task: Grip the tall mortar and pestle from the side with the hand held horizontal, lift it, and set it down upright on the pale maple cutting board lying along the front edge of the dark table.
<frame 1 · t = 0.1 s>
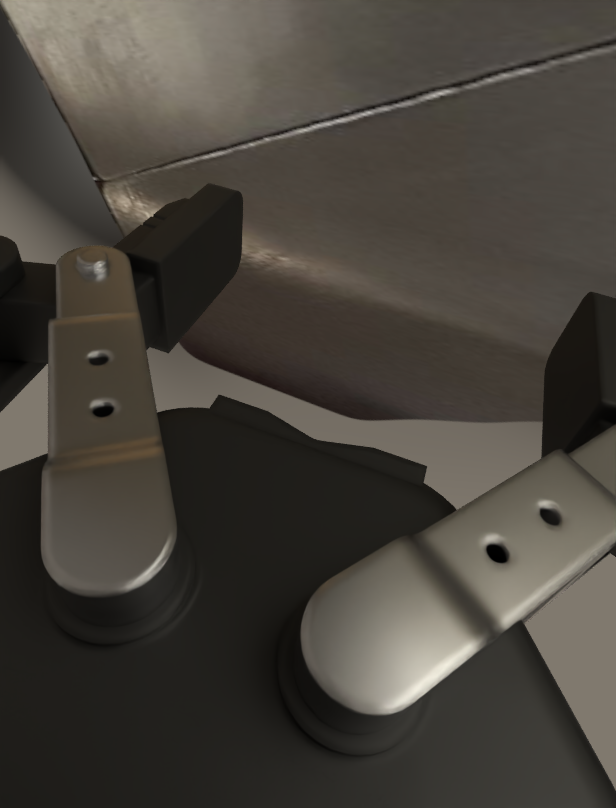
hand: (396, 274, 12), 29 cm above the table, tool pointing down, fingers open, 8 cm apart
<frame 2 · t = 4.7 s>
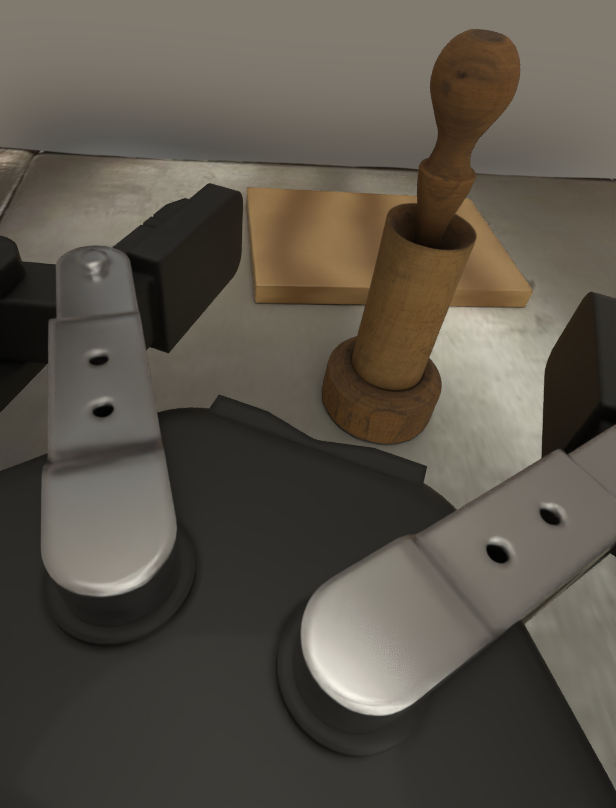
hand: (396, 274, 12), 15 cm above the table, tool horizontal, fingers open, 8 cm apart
cutting board: (375, 252, 42), on the table
mortar and pestle: (375, 402, 31), on the table
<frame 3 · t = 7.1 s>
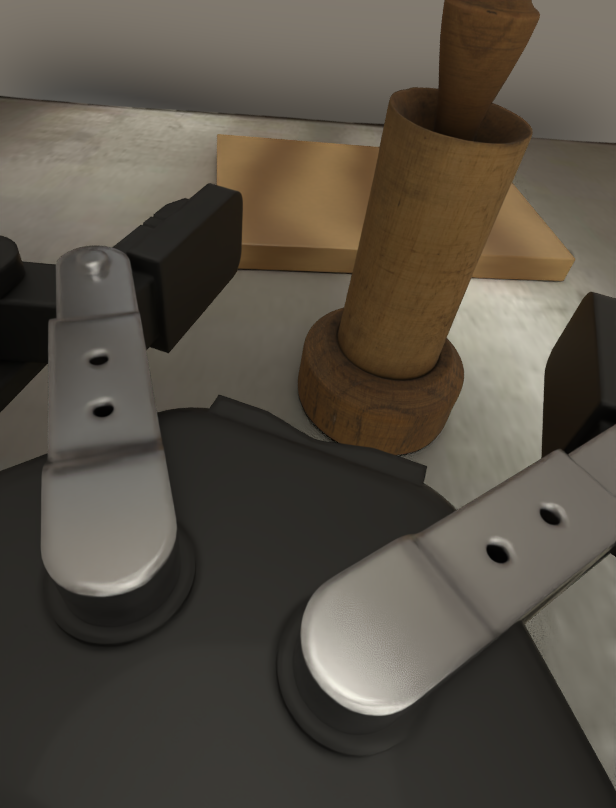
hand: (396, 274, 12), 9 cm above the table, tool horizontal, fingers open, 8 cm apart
cutting board: (374, 213, 34), on the table
mortar and pestle: (371, 397, 22), on the table
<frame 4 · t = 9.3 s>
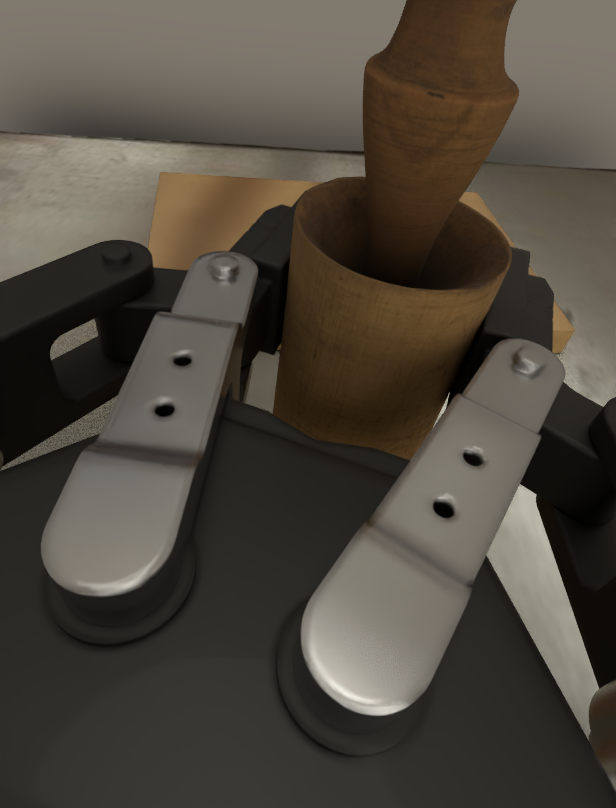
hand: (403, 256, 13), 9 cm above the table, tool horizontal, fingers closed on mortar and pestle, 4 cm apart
cutting board: (340, 266, 29), on the table
mortar and pestle: (317, 536, 18), on the table, touching gripper
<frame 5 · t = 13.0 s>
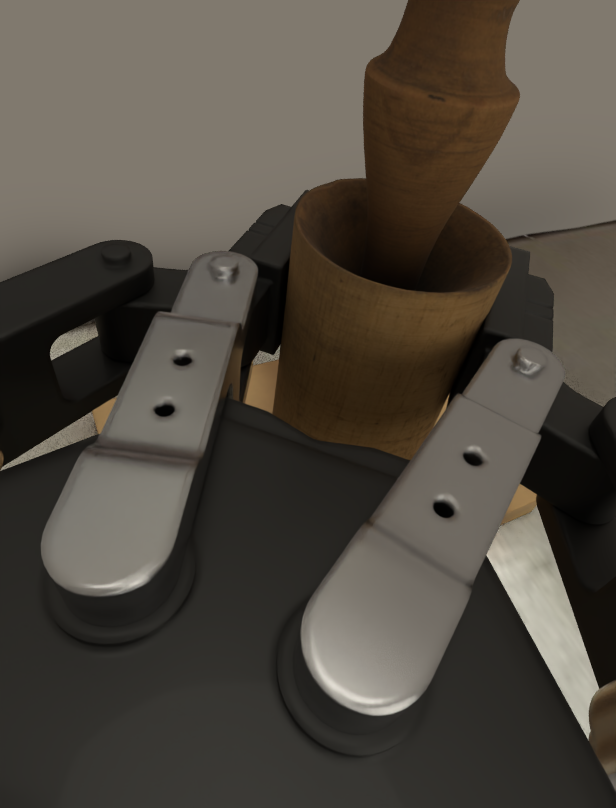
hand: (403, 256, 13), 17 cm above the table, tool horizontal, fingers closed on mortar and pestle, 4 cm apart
cutting board: (310, 466, 29), on the table
mortar and pestle: (316, 537, 18), point 7 cm above the table, touching gripper
when the fingers open (11 cm above the table, at t = 16.5 s): mortar and pestle stays where it is, resting on cutting board.
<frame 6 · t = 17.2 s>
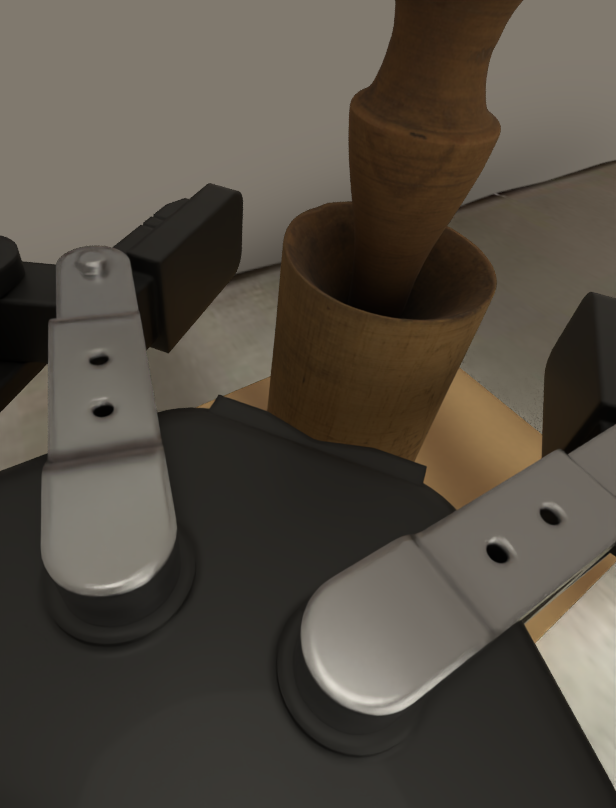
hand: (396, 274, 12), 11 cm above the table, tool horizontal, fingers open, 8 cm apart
cutting board: (331, 533, 20), on the table
mortar and pestle: (310, 547, 18), point 1 cm above the table, touching cutting board
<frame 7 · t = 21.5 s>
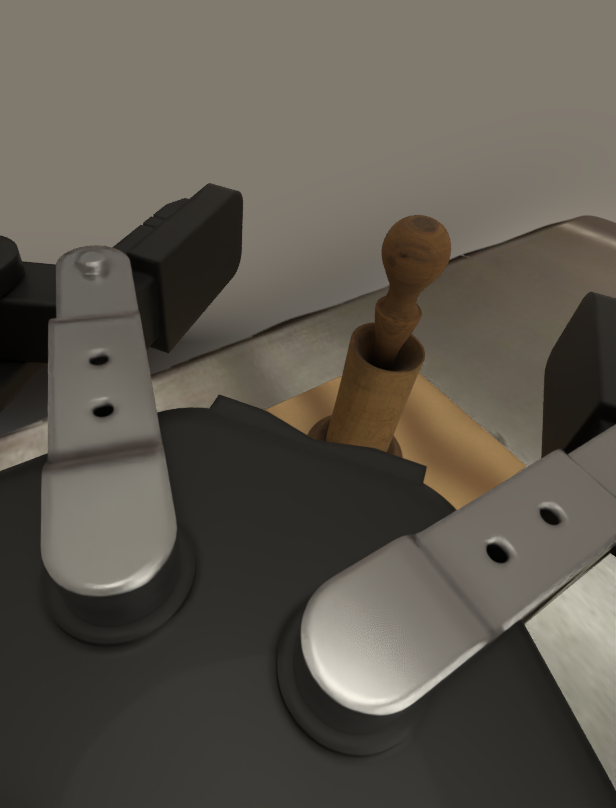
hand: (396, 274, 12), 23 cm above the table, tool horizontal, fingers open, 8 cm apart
cutting board: (356, 469, 37), on the table
mortar and pestle: (347, 472, 35), point 1 cm above the table, touching cutting board
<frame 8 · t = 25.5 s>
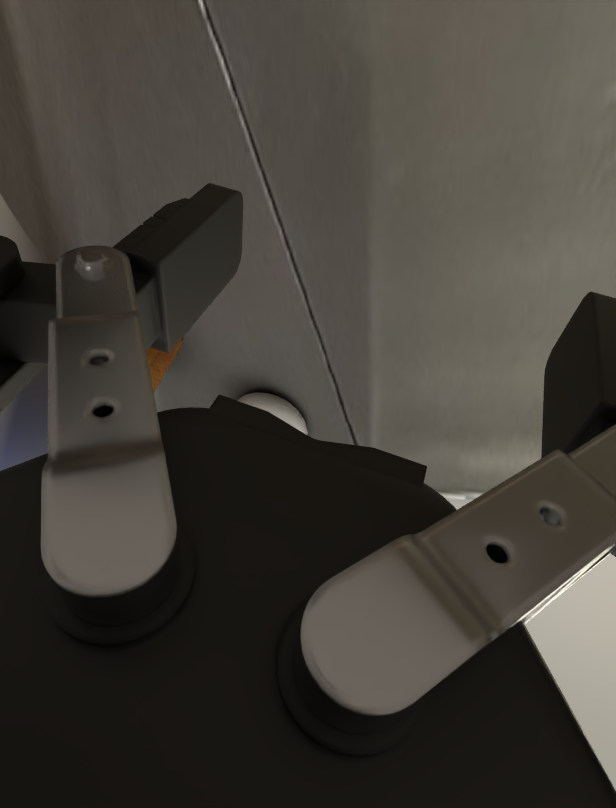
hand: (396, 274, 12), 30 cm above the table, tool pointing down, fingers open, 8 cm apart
donut: (273, 416, 65), on the table
disposable coffee cup: (159, 329, 61), on the table
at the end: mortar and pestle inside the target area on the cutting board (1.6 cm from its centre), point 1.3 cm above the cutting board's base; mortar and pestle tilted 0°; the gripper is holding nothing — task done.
